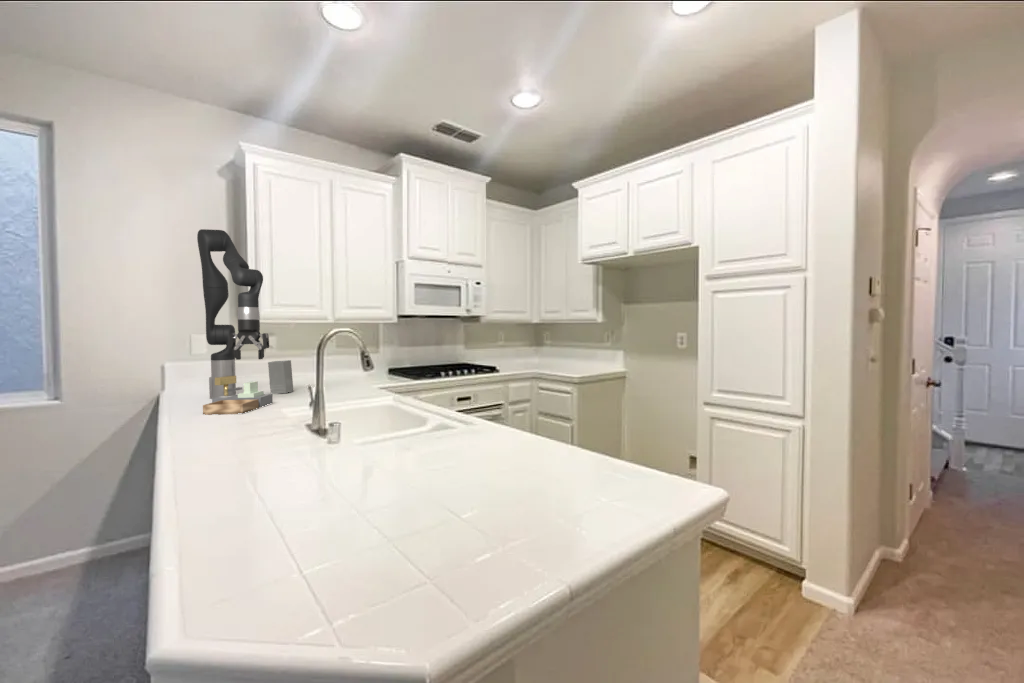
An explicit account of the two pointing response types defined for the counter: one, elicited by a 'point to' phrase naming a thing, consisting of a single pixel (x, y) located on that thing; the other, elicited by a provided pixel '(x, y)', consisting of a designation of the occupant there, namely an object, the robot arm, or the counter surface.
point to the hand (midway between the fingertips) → (249, 359)
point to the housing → (262, 399)
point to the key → (226, 381)
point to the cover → (250, 390)
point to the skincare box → (280, 376)
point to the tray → (230, 406)
